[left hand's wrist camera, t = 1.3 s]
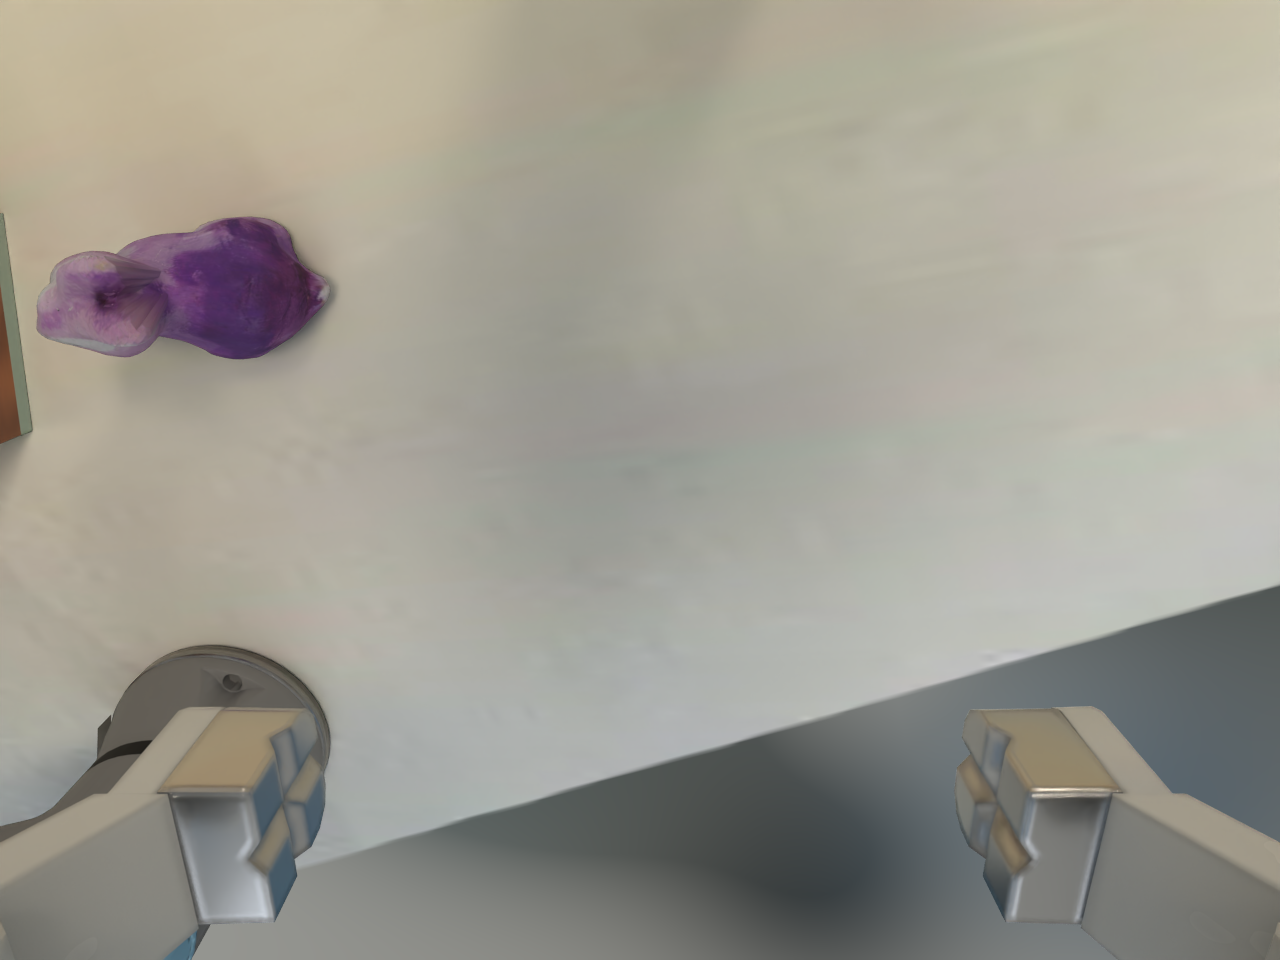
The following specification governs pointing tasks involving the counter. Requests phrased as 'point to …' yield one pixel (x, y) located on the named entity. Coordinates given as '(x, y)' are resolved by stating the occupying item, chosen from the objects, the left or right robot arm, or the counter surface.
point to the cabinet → (10, 356)
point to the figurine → (185, 292)
